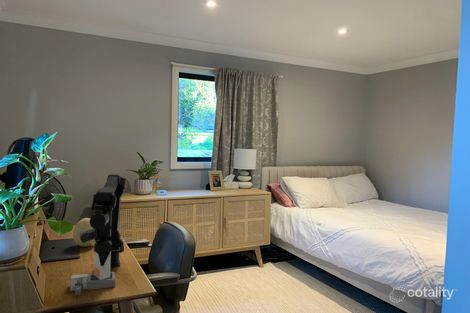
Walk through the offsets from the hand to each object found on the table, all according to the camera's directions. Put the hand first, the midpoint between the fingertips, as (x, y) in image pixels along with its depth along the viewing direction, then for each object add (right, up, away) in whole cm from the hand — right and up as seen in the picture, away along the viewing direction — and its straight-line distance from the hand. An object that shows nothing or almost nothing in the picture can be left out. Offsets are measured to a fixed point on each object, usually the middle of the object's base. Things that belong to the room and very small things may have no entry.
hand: (102, 261), depth 135 cm
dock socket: (0, -9, 0) cm, 9 cm away
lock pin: (-7, -9, -5) cm, 12 cm away
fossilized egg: (-27, -6, +46) cm, 54 cm away
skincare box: (0, -6, 0) cm, 6 cm away
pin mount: (-8, -9, -3) cm, 12 cm away
